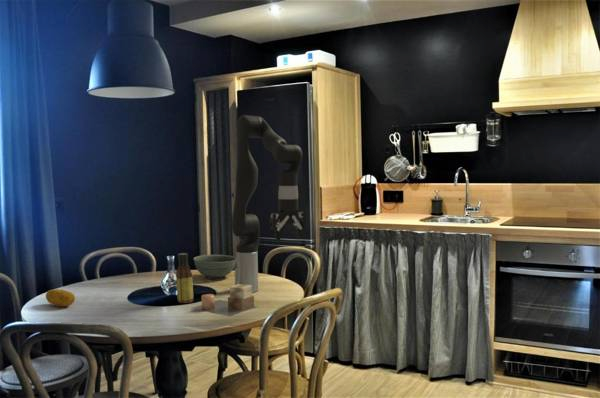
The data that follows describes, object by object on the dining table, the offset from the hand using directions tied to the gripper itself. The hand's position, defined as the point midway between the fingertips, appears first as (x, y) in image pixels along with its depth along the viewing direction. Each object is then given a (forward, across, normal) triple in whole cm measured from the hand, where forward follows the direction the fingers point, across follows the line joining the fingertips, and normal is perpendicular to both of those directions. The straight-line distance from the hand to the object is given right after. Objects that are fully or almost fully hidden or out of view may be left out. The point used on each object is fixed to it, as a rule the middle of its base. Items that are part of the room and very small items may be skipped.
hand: (288, 239), depth 219 cm
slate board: (+26, +23, -8) cm, 36 cm away
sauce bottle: (+27, +33, -25) cm, 50 cm away
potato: (+27, +78, -44) cm, 94 cm away
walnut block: (+25, +17, -5) cm, 31 cm away
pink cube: (+26, +29, -9) cm, 40 cm away
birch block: (+21, +17, -5) cm, 28 cm away
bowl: (+27, +7, -66) cm, 72 cm away
